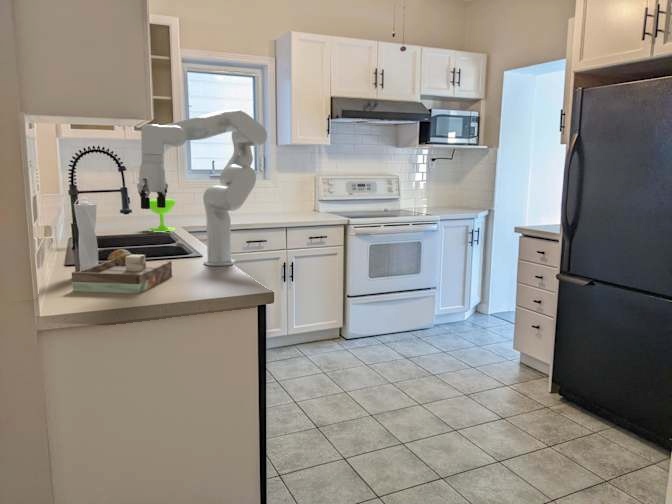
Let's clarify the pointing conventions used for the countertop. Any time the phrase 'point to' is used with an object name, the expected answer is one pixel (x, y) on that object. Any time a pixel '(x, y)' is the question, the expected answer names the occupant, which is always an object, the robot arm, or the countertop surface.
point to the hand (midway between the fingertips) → (153, 208)
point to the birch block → (135, 262)
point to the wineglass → (162, 211)
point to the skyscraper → (86, 235)
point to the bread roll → (119, 257)
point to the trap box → (119, 278)
